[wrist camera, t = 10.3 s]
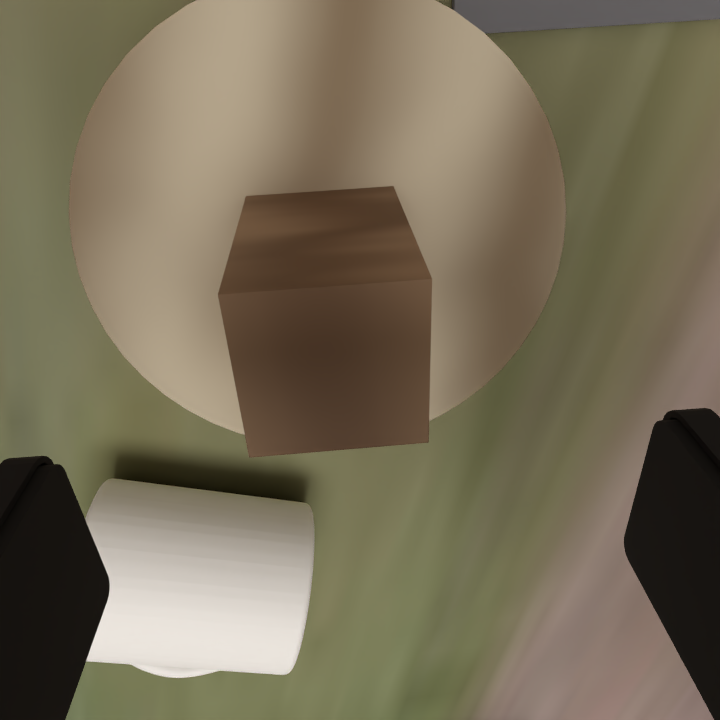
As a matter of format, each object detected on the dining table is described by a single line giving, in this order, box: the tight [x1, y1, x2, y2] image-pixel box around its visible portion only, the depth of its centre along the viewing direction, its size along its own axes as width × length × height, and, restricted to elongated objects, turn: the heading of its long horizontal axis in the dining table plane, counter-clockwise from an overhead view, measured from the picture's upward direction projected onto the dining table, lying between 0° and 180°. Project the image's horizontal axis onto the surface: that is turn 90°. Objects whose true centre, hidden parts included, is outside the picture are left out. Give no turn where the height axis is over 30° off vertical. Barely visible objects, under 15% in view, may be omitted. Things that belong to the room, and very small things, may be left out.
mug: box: [85, 478, 314, 678], centre depth 30 cm, size 12×10×8 cm
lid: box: [69, 0, 566, 457], centre depth 15 cm, size 14×14×7 cm
